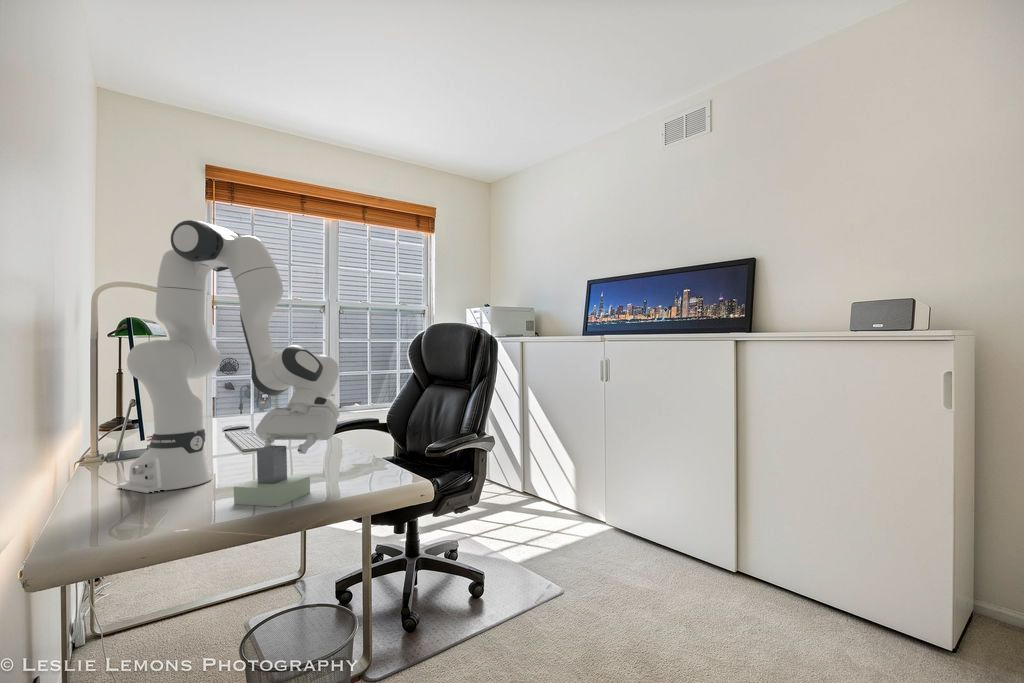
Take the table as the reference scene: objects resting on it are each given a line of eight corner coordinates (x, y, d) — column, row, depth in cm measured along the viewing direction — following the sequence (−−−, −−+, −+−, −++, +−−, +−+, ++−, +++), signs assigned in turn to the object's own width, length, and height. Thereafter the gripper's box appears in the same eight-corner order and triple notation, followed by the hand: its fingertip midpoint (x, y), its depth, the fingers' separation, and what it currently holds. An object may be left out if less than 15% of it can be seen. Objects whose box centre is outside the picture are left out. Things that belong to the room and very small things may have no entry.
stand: (234, 504, 115) (233, 486, 115) (269, 490, 126) (268, 474, 126) (278, 506, 112) (277, 488, 112) (310, 492, 123) (309, 476, 123)
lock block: (257, 483, 117) (256, 449, 118) (271, 478, 122) (270, 445, 122) (274, 484, 116) (273, 449, 116) (287, 479, 121) (286, 445, 121)
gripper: (265, 400, 133) (239, 445, 123) (336, 399, 129) (315, 445, 119) (276, 415, 137) (252, 459, 128) (345, 414, 134) (326, 459, 124)
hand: (283, 452), depth 124 cm, fingers open, 8 cm apart
